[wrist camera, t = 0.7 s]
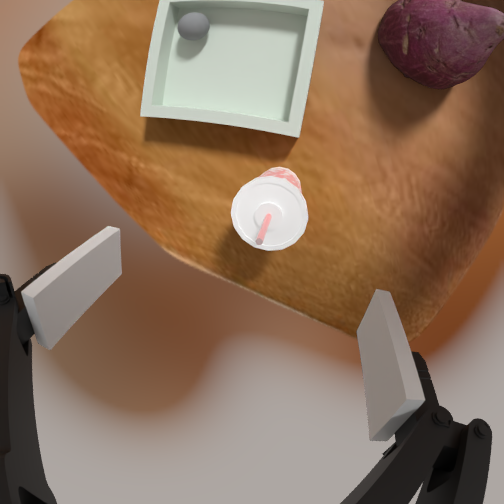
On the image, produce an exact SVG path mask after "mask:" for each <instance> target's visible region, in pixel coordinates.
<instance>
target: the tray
mask: <svg viewBox="0 0 504 504" xmlns="http://www.w3.org/2000/svg"><path fill="white" fill-rule="evenodd" d="M323 5H324V1H320V0H160V2H159V6H158V10H157V14H156V19H155V24H154V28H153V33H152V39H151V44H150V49H149V55H148V61H147V67H146V74H145V81H144V88H143V96H142V104H141V114H140V116H145V117H160V118H172V119H183V120H192V121H201V122H209V123H217V124H224V125H231V126H238V127H244V128H250V129H256V130H262V131H268V132H273V133H278V134H283V135H288V136H293V137H298V138H299V136H300V132H301V127H302V122H303V117H304V112H305V106H306V101H307V96H308V91H309V85H310V80H311V75H312V69H313V64H314V58H315V53H316V47H317V41H318V36H319V30H320V24H321V18H322V12H323ZM192 12H197V13H201V14H203V15H205V16H206V17H207V18H208V20H209V22H210V28H209V31H208V33H207V34H206V35H205V36H204V37H203V38H201V39H199V40H195V41H190V40H186V39H184V38H183V37H181V36H180V34H179V33H178V29H177V26H178V22H179V20H180V19H181V18H182V17H183V16H184V15H186V14H188V13H192Z"/></svg>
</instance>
